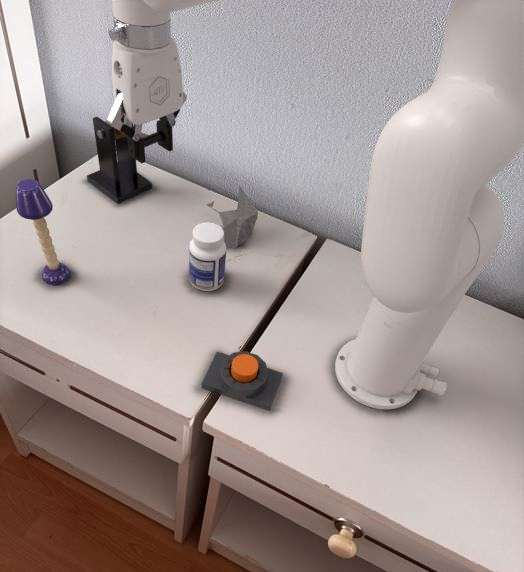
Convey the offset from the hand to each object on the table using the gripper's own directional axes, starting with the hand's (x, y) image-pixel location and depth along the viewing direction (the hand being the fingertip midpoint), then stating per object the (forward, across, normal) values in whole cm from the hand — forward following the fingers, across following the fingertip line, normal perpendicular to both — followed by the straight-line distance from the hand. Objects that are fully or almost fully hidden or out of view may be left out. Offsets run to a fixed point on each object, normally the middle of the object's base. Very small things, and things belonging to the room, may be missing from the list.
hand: (151, 152), depth 84 cm
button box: (+12, -16, -37) cm, 42 cm away
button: (+10, -16, -37) cm, 41 cm away
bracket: (+11, 0, +10) cm, 15 cm away
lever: (0, 0, +5) cm, 5 cm away
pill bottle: (+12, -5, -19) cm, 23 cm away
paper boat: (+12, +7, -12) cm, 19 cm away
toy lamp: (+12, -23, -3) cm, 26 cm away
